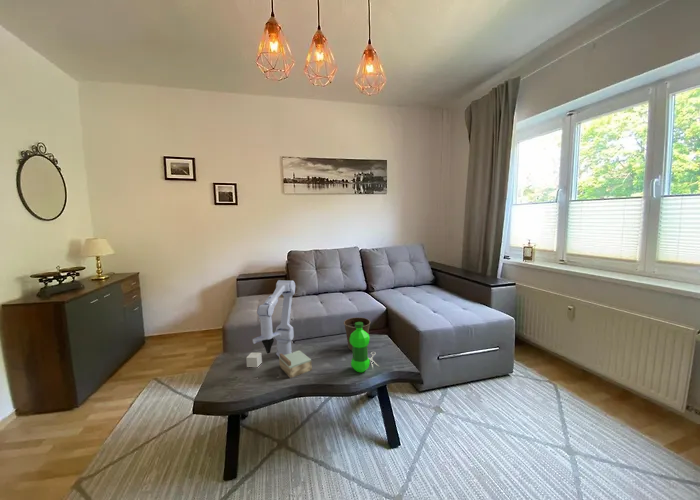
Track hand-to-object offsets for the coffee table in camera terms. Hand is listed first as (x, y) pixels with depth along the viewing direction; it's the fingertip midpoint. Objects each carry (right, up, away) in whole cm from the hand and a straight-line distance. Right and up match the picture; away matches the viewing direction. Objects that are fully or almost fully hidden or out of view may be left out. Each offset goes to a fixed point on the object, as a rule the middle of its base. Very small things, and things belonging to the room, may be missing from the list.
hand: (268, 352), depth 150 cm
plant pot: (+47, -6, +26) cm, 55 cm away
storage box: (+14, -10, +3) cm, 17 cm away
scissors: (+54, -8, +10) cm, 56 cm away
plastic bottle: (+48, -9, 0) cm, 49 cm away
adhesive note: (-10, -10, +9) cm, 17 cm away
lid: (+13, -5, +3) cm, 14 cm away
